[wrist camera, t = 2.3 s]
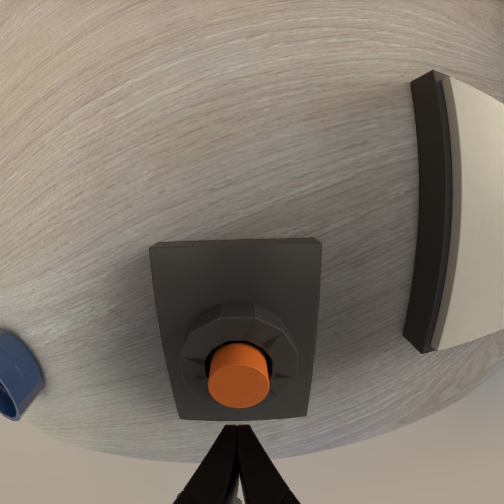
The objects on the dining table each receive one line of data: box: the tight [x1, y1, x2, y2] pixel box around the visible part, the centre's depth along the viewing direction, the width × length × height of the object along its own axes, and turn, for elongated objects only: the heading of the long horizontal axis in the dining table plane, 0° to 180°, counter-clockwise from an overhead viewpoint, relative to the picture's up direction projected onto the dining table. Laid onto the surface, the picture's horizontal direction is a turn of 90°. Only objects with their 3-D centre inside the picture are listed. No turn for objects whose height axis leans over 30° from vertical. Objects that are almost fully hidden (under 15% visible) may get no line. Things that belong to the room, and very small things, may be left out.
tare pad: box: [149, 238, 322, 421], centre depth 13 cm, size 11×8×3 cm
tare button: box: [208, 343, 269, 408], centre depth 11 cm, size 3×3×2 cm
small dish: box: [0, 330, 43, 421], centre depth 13 cm, size 6×6×4 cm
